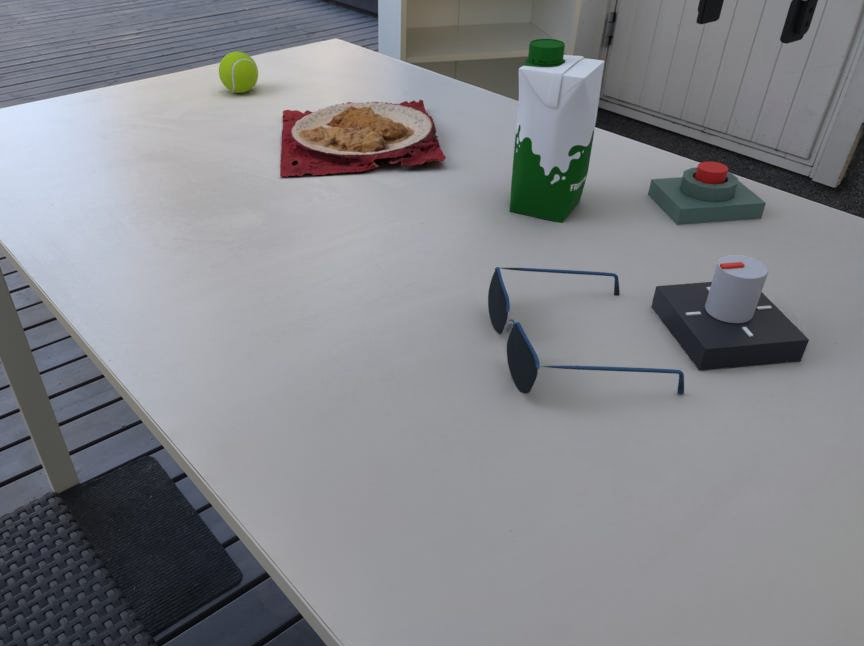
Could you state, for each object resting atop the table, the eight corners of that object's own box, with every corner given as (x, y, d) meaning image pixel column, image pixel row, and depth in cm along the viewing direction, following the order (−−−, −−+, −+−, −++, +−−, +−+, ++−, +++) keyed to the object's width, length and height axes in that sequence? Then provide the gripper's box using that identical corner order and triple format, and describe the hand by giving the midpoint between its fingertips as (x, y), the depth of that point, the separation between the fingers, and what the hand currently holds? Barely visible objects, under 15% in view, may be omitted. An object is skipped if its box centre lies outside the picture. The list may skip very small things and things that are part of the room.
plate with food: (423, 111, 127) (423, 90, 125) (446, 167, 106) (446, 143, 104) (283, 119, 126) (281, 99, 124) (279, 177, 105) (277, 154, 103)
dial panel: (742, 298, 78) (749, 277, 77) (800, 361, 70) (810, 338, 68) (651, 306, 78) (656, 284, 76) (699, 370, 69) (706, 347, 67)
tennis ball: (215, 91, 137) (209, 51, 133) (248, 83, 140) (244, 44, 136) (232, 100, 133) (227, 60, 128) (267, 92, 136) (262, 52, 132)
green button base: (726, 189, 100) (734, 160, 98) (761, 219, 93) (770, 189, 90) (647, 194, 99) (653, 165, 97) (676, 225, 92) (684, 195, 90)
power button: (716, 173, 95) (719, 160, 94) (730, 185, 92) (733, 171, 91) (689, 175, 95) (692, 162, 94) (702, 186, 92) (706, 173, 91)
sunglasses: (482, 302, 79) (491, 260, 76) (612, 308, 81) (627, 268, 78) (521, 408, 65) (534, 362, 62) (677, 412, 67) (697, 368, 64)
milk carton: (525, 187, 101) (541, 31, 89) (589, 201, 98) (615, 40, 86) (499, 212, 95) (513, 49, 83) (567, 228, 92) (592, 60, 80)
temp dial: (739, 297, 74) (754, 250, 71) (762, 321, 71) (779, 273, 67) (696, 300, 74) (710, 253, 70) (717, 325, 70) (732, 277, 67)
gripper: (923, -170, 63) (848, 43, 73) (741, -174, 74) (698, 11, 85) (878, -167, 60) (806, 55, 70) (694, -172, 71) (656, 20, 81)
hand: (747, 31), depth 77 cm, fingers open, 9 cm apart
